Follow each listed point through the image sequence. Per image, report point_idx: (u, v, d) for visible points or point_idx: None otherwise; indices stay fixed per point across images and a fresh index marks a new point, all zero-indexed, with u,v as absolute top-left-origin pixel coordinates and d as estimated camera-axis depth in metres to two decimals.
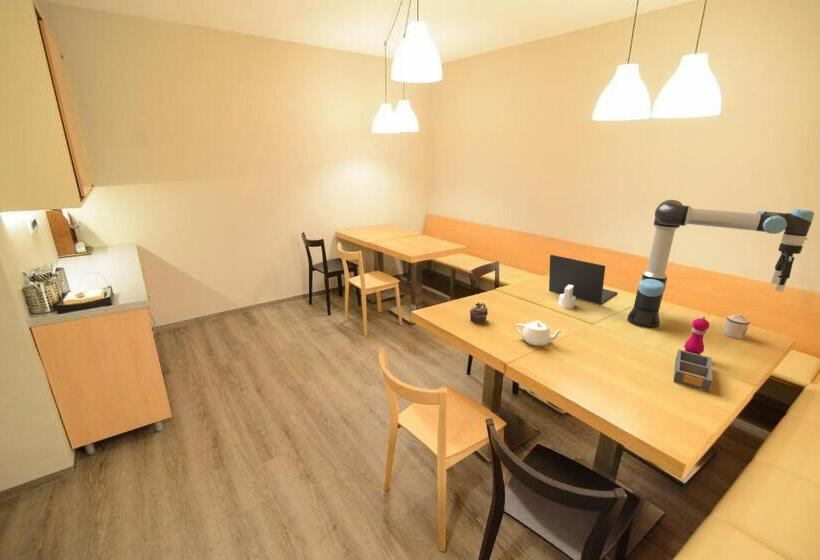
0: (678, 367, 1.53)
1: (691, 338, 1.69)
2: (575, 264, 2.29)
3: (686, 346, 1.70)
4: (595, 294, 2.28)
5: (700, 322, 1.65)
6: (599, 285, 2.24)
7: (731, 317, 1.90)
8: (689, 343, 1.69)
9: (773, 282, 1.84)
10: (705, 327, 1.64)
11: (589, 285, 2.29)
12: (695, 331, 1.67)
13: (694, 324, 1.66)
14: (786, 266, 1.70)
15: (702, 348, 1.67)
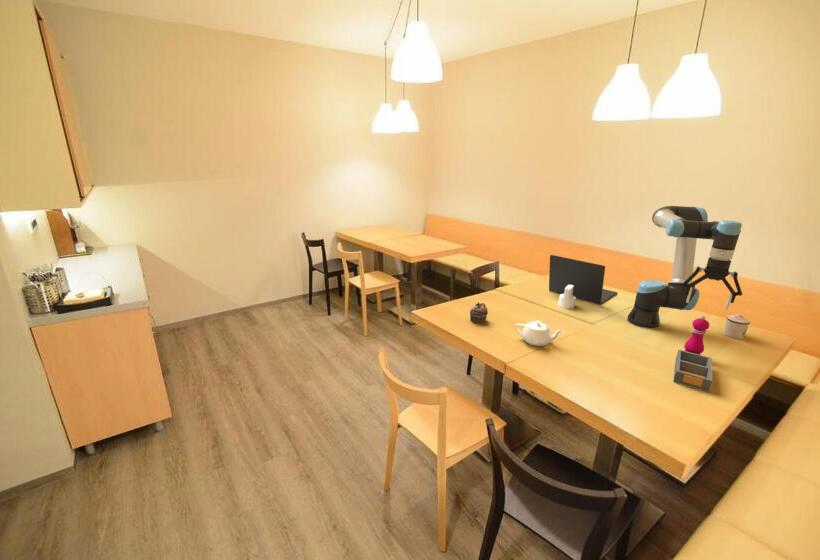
0: (678, 367, 1.53)
1: (691, 338, 1.69)
2: (575, 264, 2.29)
3: (686, 346, 1.70)
4: (595, 294, 2.28)
5: (700, 322, 1.65)
6: (599, 285, 2.24)
7: (731, 317, 1.90)
8: (689, 343, 1.69)
9: (725, 307, 1.60)
10: (705, 327, 1.64)
11: (589, 286, 2.29)
12: (695, 331, 1.67)
13: (694, 324, 1.66)
14: (690, 275, 1.64)
15: (702, 348, 1.67)
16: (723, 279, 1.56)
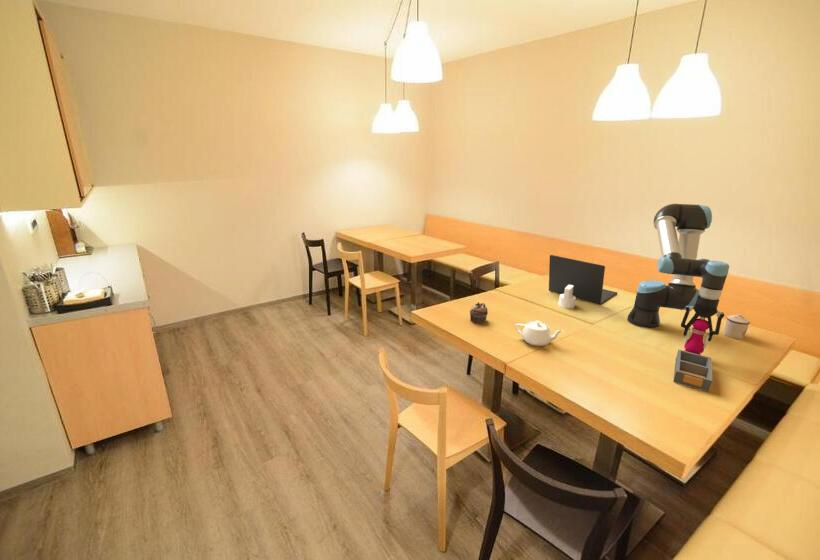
0: (678, 367, 1.53)
1: (691, 338, 1.69)
2: (575, 264, 2.29)
3: (686, 346, 1.70)
4: (595, 294, 2.28)
5: (700, 322, 1.64)
6: (599, 285, 2.24)
7: (731, 317, 1.90)
8: (689, 343, 1.69)
9: None
10: (705, 327, 1.64)
11: (588, 286, 2.29)
12: (695, 331, 1.67)
13: (694, 324, 1.66)
14: (684, 315, 1.70)
15: (702, 348, 1.67)
16: (709, 317, 1.63)
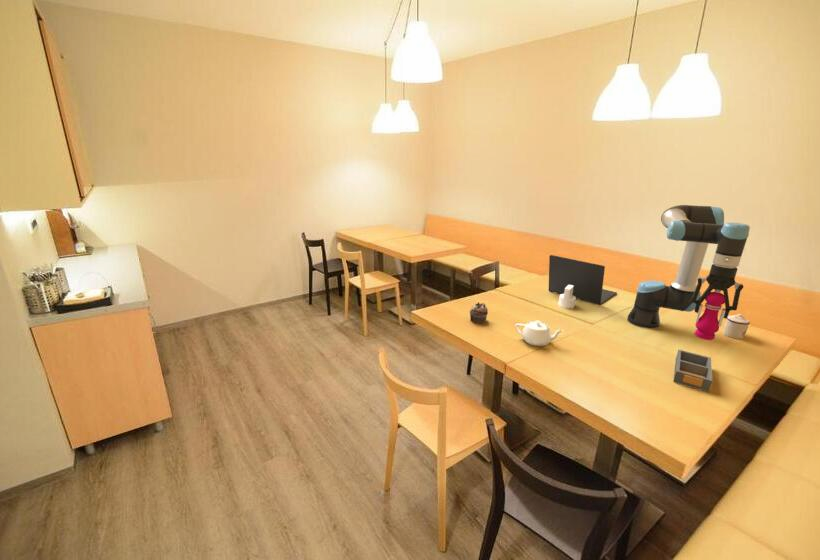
0: (678, 367, 1.53)
1: (704, 315, 1.45)
2: (574, 264, 2.29)
3: (698, 325, 1.46)
4: (595, 294, 2.28)
5: (714, 296, 1.40)
6: (599, 285, 2.24)
7: (731, 317, 1.90)
8: (701, 321, 1.45)
9: None
10: (721, 301, 1.40)
11: (588, 286, 2.28)
12: (709, 306, 1.42)
13: (708, 298, 1.42)
14: (695, 288, 1.46)
15: (717, 326, 1.43)
16: (725, 290, 1.39)
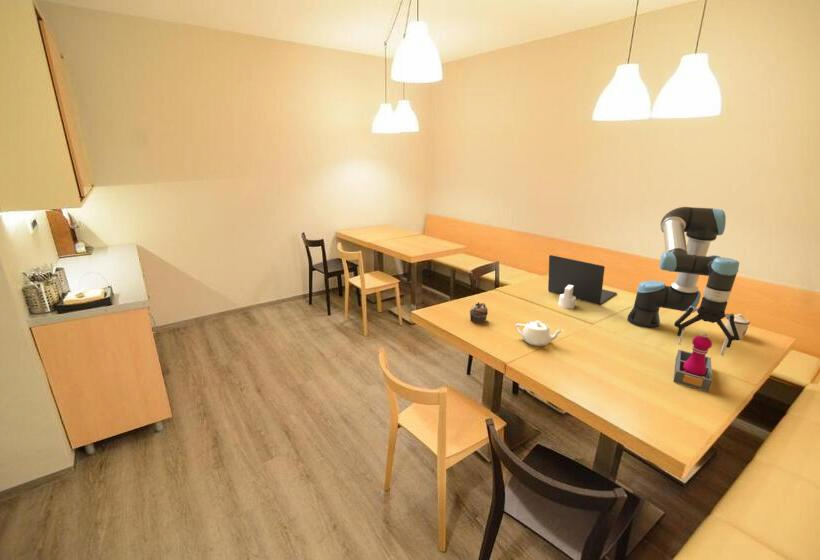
0: (678, 367, 1.53)
1: (691, 358, 1.50)
2: (574, 264, 2.29)
3: (686, 367, 1.51)
4: (594, 294, 2.28)
5: (701, 340, 1.45)
6: (598, 285, 2.23)
7: None
8: (689, 363, 1.50)
9: (721, 351, 1.45)
10: (707, 346, 1.45)
11: (588, 286, 2.28)
12: (696, 350, 1.48)
13: (694, 342, 1.47)
14: (683, 314, 1.49)
15: (704, 369, 1.48)
16: (718, 322, 1.41)
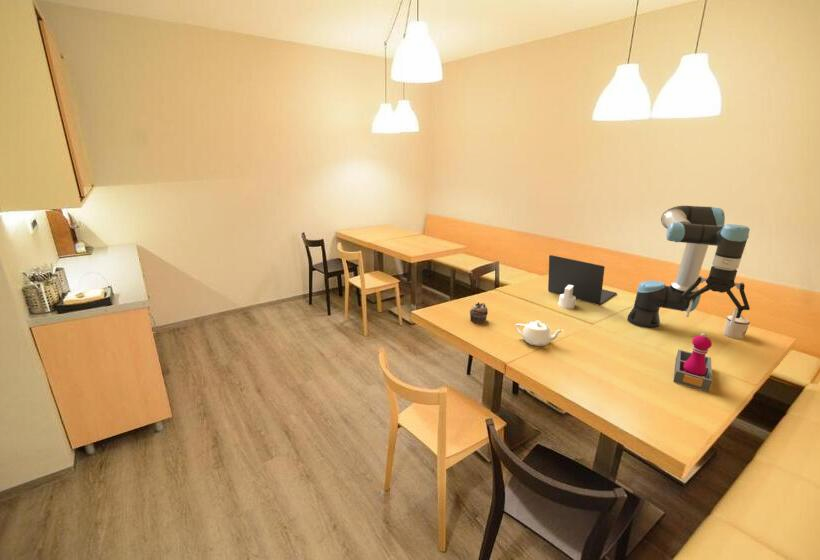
0: (678, 367, 1.53)
1: (691, 358, 1.50)
2: (574, 264, 2.29)
3: (686, 367, 1.51)
4: (594, 294, 2.28)
5: (701, 340, 1.46)
6: (598, 285, 2.23)
7: (731, 317, 1.90)
8: (689, 363, 1.50)
9: (730, 322, 1.41)
10: (707, 346, 1.45)
11: (588, 286, 2.28)
12: (696, 350, 1.48)
13: (694, 342, 1.47)
14: (691, 286, 1.45)
15: (704, 369, 1.48)
16: (728, 291, 1.37)
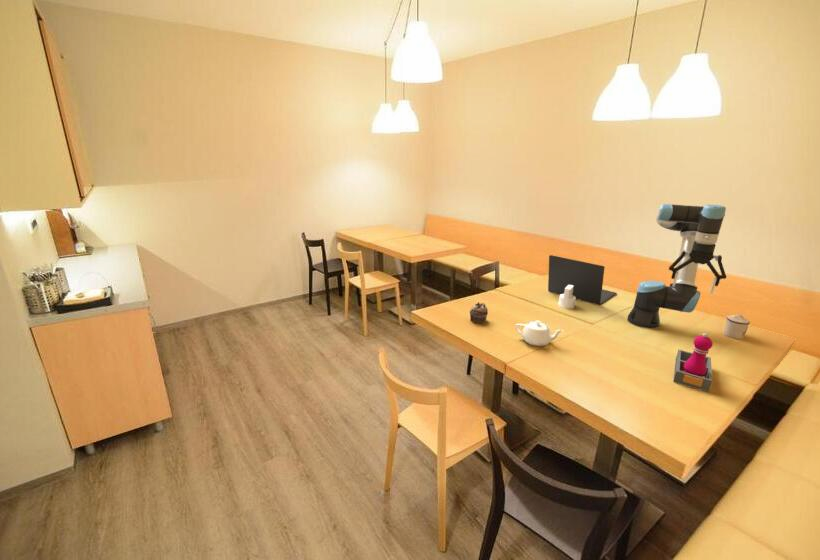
0: (678, 367, 1.53)
1: (692, 358, 1.50)
2: (574, 264, 2.28)
3: (686, 366, 1.51)
4: (594, 295, 2.27)
5: (702, 340, 1.45)
6: (598, 286, 2.23)
7: (731, 317, 1.90)
8: (689, 363, 1.50)
9: (710, 290, 1.63)
10: (708, 346, 1.45)
11: (588, 286, 2.28)
12: (696, 350, 1.48)
13: (695, 342, 1.47)
14: (676, 259, 1.67)
15: (704, 369, 1.48)
16: (708, 263, 1.59)
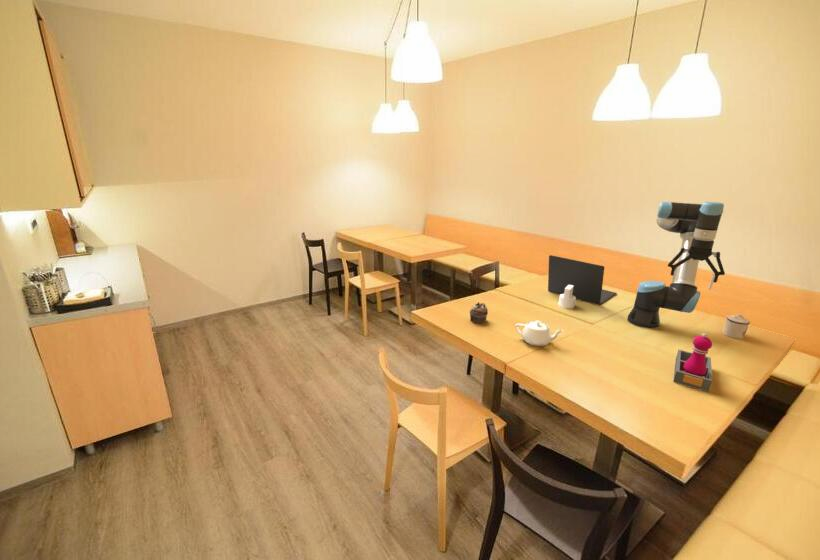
0: (678, 367, 1.53)
1: (691, 358, 1.50)
2: (574, 264, 2.28)
3: (686, 367, 1.51)
4: (594, 295, 2.27)
5: (701, 341, 1.45)
6: (598, 286, 2.23)
7: (731, 317, 1.90)
8: (689, 363, 1.50)
9: (709, 287, 1.64)
10: (707, 346, 1.45)
11: (588, 286, 2.28)
12: (696, 350, 1.47)
13: (695, 342, 1.47)
14: (675, 256, 1.69)
15: (704, 369, 1.48)
16: (706, 259, 1.61)
